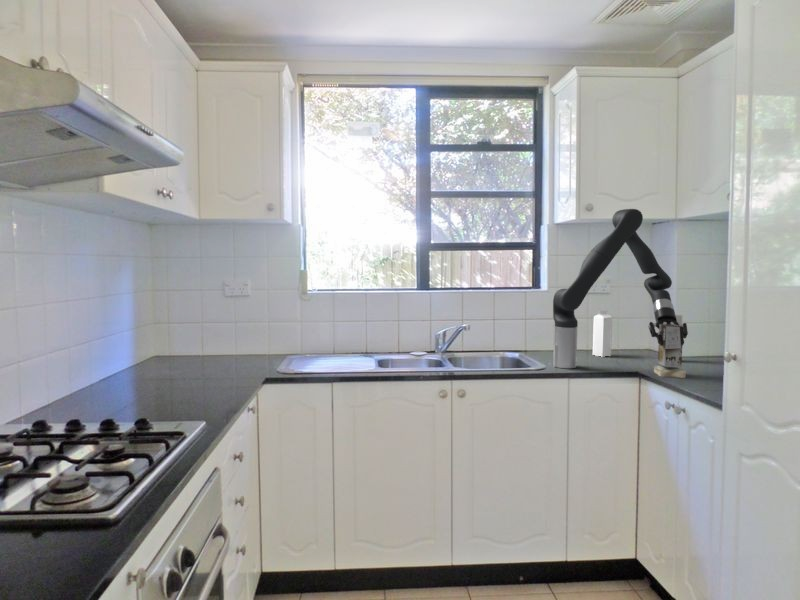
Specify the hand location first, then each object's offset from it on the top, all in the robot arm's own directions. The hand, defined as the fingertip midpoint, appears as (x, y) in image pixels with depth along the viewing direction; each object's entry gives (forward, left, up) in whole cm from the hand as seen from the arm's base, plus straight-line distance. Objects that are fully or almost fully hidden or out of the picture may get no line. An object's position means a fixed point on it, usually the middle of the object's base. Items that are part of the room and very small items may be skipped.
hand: (671, 344), depth 200 cm
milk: (-19, +41, -12) cm, 46 cm away
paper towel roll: (+9, +35, -12) cm, 38 cm away
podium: (0, +2, -12) cm, 12 cm away
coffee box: (0, +2, -9) cm, 9 cm away
